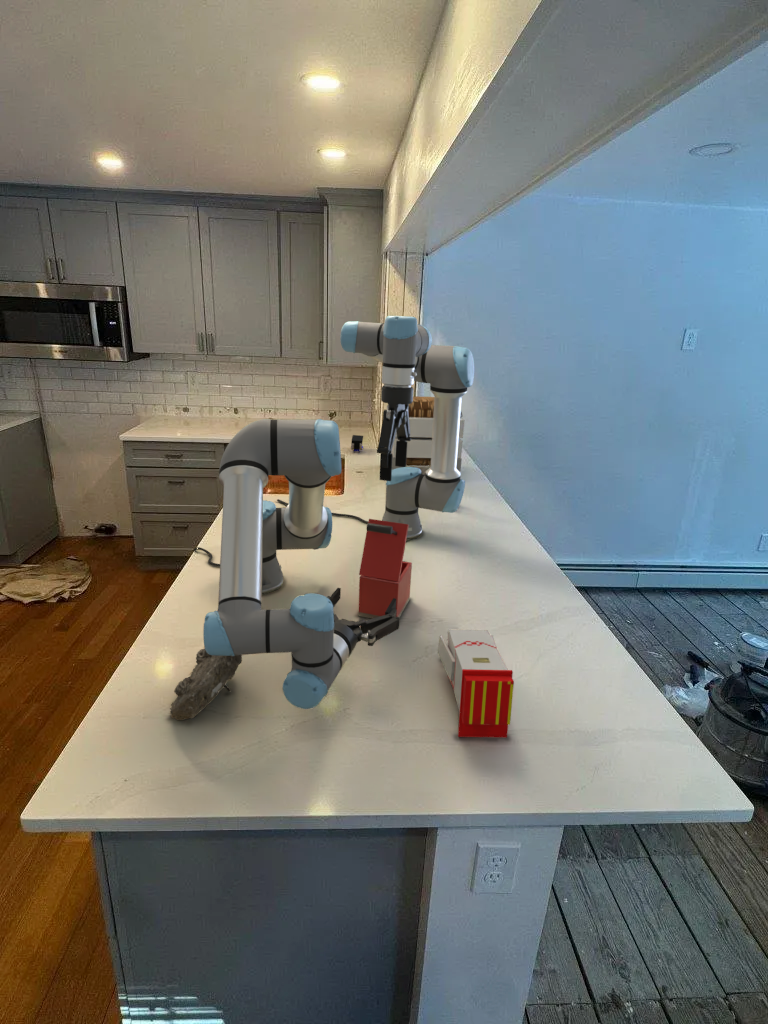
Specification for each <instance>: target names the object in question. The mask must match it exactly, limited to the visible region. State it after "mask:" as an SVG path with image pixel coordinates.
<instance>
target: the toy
mask: <svg viewBox="0 0 768 1024" xmlns="http://www.w3.org/2000/svg"><path fill="white" fill-rule="evenodd" d="M446 640H447V643H446V641H445V639H444V636H443V635H442V634H439V637H438V646H437V656H438V657H439V659H440V661H441V663H442V666H443V668H444V670H445V672H446V674H447V677H448V679H449V681H450V684H451V687H452V690H453V693H454V697H455V701H456V705H457V708H458V711H459V714H458V715H459V716H458V730H457V731H458V732H457V737H458V738H508V731H509V726H510V725H511V717H512V707H513V697H514V696H513V695H514V684H515V680H514V679H513V673H514V671H513V670H512V669H508V667H507V665H506V662H505V661H504V659H503V658H502V655H501V653H500V651H499V649H498V647H497V643H496V639H495V637H494V635H493V634H491V632H490V631H489V629H467V628H466V629H465V628H463V629H461V628H460V629H459V628H448V630H447V639H446Z"/></svg>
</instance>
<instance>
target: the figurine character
mask: <svg viewBox="0 0 768 1024" xmlns="http://www.w3.org/2000/svg"><path fill="white" fill-rule="evenodd" d="M363 441H364V435H360V434H359V435H357V434H352V435H351V443H350V450H351V451H352V450H353V451H352V453H355V452H358V454H360V453H361V451H362V450H363V448H364V446H363V443H364V442H363Z"/></svg>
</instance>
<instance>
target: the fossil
mask: <svg viewBox="0 0 768 1024" xmlns="http://www.w3.org/2000/svg"><path fill="white" fill-rule="evenodd" d="M195 660H196V661H195V663H196V665H194V668H193V669H192V671H191V673H190V676H189V677H188V676H187V677H184V678H183V679H182V680H181V681H180V682H178V684H176V686H175V688H174V691H173V692H174V694H175V695H176V696H177V697H176V698H174V701H172V702H171V703H170V708H169V712H170V718H172V719H175V720H177V721H183V720H188V719H194V718H195V717H196V716H198V714H199V713H200V712H201V711H203V710H205V708H206V707H207V706H208V705H209V704H210V703H211V702H212V701H214V699H216V698H217V696H218V695H219V692H221V691H222V690H223V689H225V690H226V691H227V692H229V693H230V692H232V690H231V689H230V687H229V686H228V685H227V683H228V681H230V680H232V679H233V678H234V676H236V675H235V674H236V672H237V670H238V668H239V666H240V665H241V664H242V662H243V655H235V656H217V655H209V654H208V653H207V652H206V650H205V648H201V649H199V650H198V651H197V652H196V657H195Z"/></svg>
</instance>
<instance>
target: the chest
mask: <svg viewBox="0 0 768 1024" xmlns="http://www.w3.org/2000/svg"><path fill="white" fill-rule="evenodd" d="M412 567H413V562H410V561H404V560H403V562H402V568H401V574H400V580H399V582H397V581H391V580H386V579H380V578H374V577H368V576H363V575H359V578H358V579H359V582H358V583H359V584H358V610H357V611H358V612H357V616H358V617H362V618H366V619H373V618H376V617H380V616H383V615H385V611H386V610H387V608H388V606H389V605H390V603H391V601H392V600H393V598H395V599H396V610H397V613H396V617H399V618H400V619H401V617H402V614H403V613H404V610H405V609H406V607H407V605H408V603H409V601H410V599H411V583H412V580H411V579H412Z"/></svg>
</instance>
